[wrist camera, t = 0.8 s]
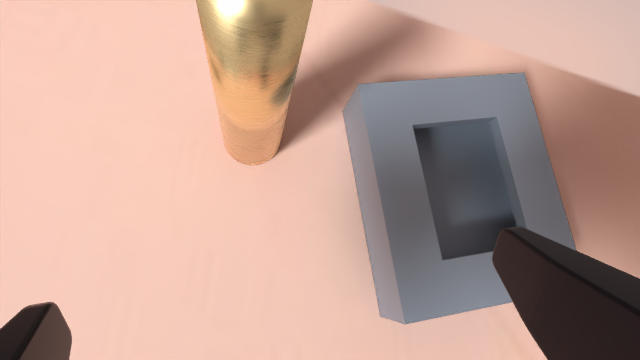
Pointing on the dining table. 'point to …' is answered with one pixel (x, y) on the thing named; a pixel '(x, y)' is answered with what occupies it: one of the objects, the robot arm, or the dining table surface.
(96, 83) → the dining table surface
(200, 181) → the dining table surface
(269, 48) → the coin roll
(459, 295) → the grey socket block
